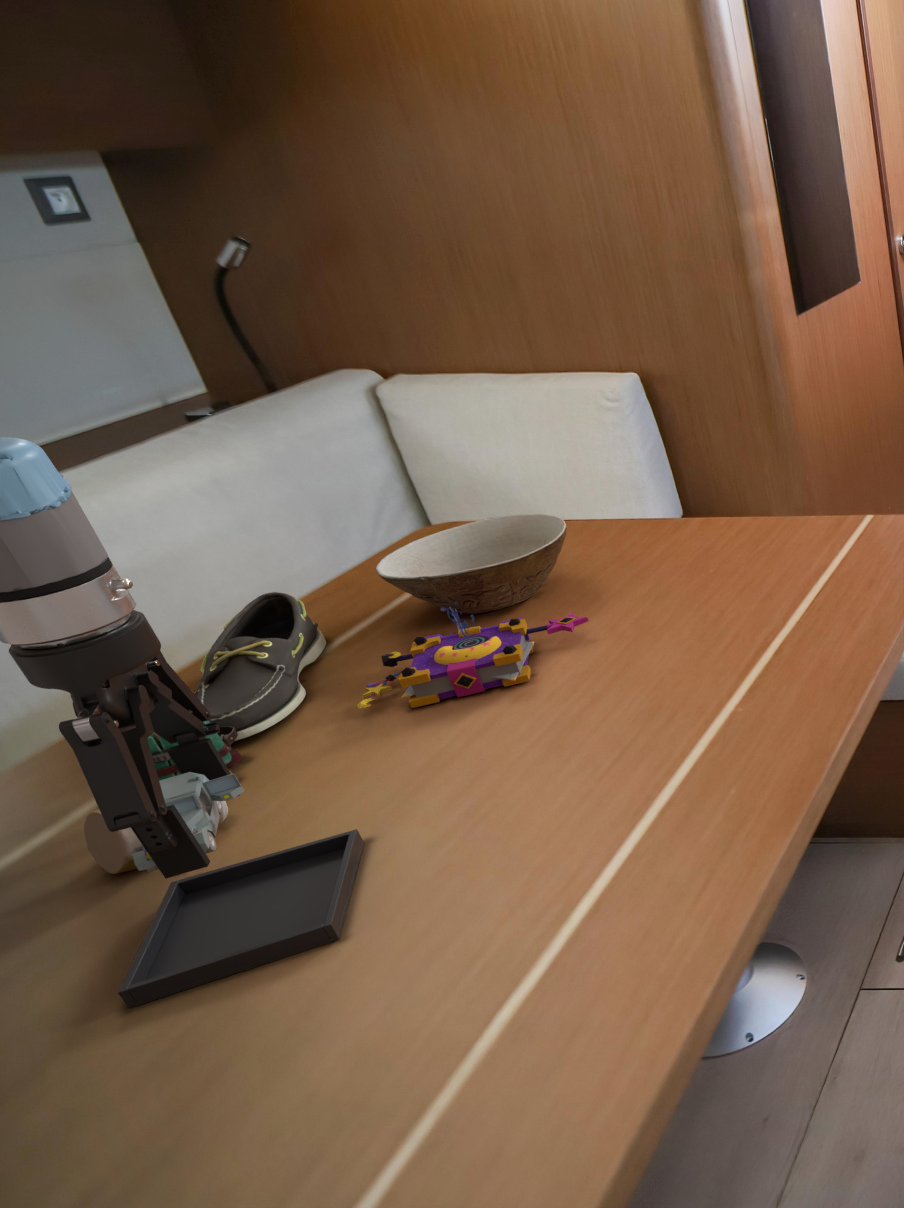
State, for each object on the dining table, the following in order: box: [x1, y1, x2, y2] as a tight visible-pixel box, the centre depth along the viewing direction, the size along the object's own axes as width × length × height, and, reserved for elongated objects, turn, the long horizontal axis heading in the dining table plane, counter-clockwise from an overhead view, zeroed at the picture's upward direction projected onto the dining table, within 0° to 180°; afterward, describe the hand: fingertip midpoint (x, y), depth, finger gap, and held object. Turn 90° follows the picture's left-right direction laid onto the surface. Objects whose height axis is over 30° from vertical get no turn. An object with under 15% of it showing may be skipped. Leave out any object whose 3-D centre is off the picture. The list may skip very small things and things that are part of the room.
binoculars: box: [120, 710, 243, 781], centre depth 108 cm, size 9×11×10 cm
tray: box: [117, 828, 365, 1009], centre depth 92 cm, size 14×15×2 cm
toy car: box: [132, 772, 245, 873], centre depth 87 cm, size 6×10×5 cm, turn 40°
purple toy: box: [357, 595, 590, 709], centre depth 128 cm, size 15×25×12 cm, turn 121°
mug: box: [83, 800, 229, 875], centre depth 100 cm, size 8×10×10 cm
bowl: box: [375, 513, 568, 615], centre depth 148 cm, size 24×24×10 cm
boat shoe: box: [194, 591, 327, 742], centre depth 124 cm, size 11×29×9 cm, turn 38°
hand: (205, 832), depth 88 cm, fingers closed on toy car, 10 cm apart
